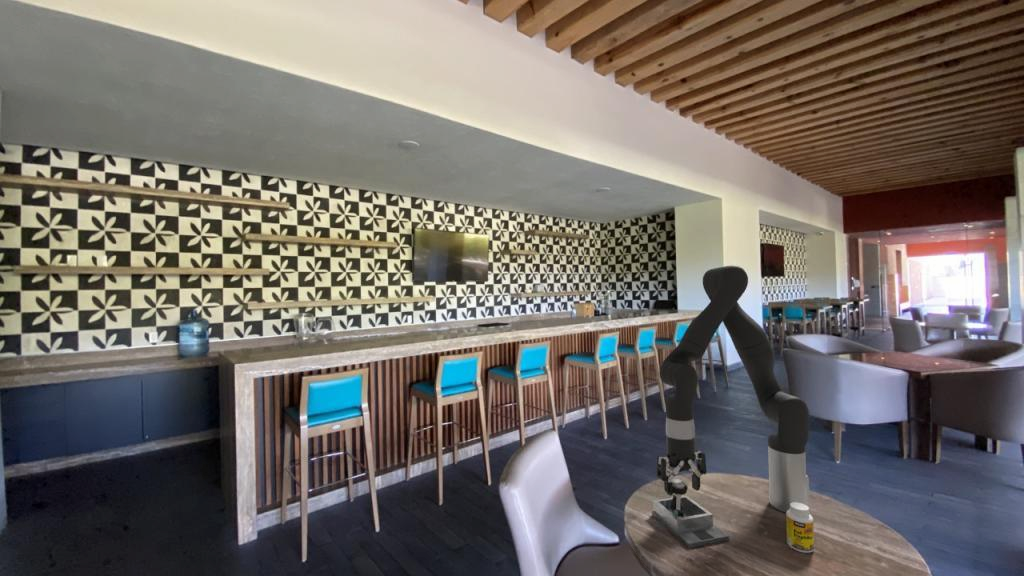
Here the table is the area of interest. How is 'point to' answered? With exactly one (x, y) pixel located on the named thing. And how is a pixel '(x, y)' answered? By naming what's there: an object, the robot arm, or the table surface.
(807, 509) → the supplement bottle
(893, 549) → the table surface
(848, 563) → the table surface
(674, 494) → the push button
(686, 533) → the gray open box
